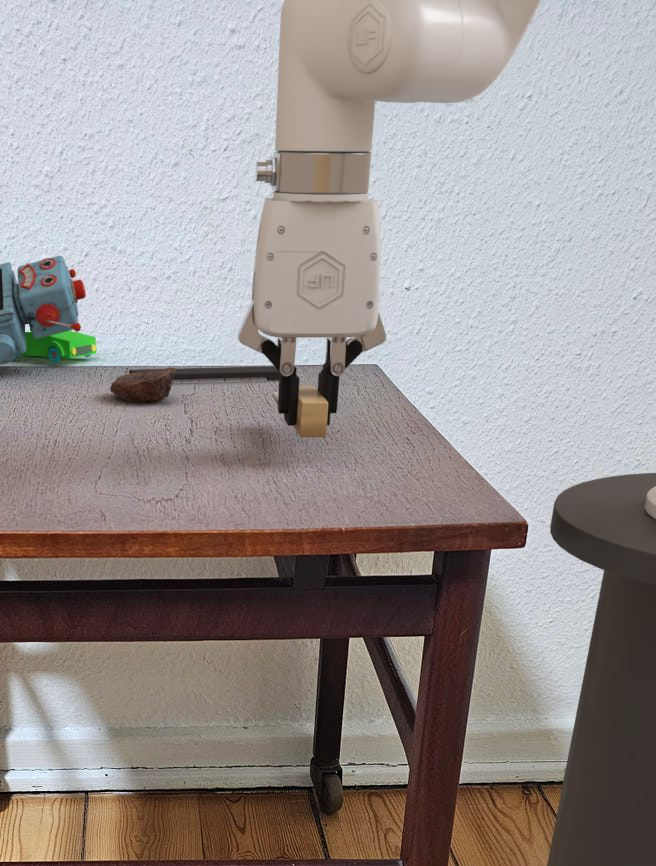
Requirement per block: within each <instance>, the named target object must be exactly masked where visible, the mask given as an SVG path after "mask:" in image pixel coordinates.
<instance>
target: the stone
mask: <svg viewBox="0 0 656 866" xmlns="http://www.w3.org/2000/svg"><path fill="white" fill-rule="evenodd" d="M157 369H158V370H153V371H146V372H136V373H130V374H129V373H126V374H125V375H121V376H120V377H117V378H116V379H115V380H114V381H113V382H111V385H110V390H109V391H110V392H111V393H112V394H113V395H114V396H115V397H117V398H120V399H123V400H125V401H127V402H128V401H129V402H151V401H152V402H153V401H163V400H165V399H166V398H168V397H169V395H170V392H171V390H172V385H173V384H172V381H173V378H174V376H175V373H176V369H177V368H175V367H167V368H157ZM161 369H162V370H161Z"/></svg>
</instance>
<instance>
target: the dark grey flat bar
mask: <svg viewBox="0 0 656 866" xmlns="http://www.w3.org/2000/svg"><path fill="white" fill-rule="evenodd" d="M158 369H159V368H145V369H141V368H140V369H129V370H128V374H130V373H136V372H146V371H153V370H158ZM160 369H161V370H162V369H163V368H160ZM175 369H176V373H175V376H174V378H173V381H172V384H171V385H173V384H198V383H199V384H202V383H204V384H206V383H207V384H208V383H236V382H237V383H238V382H240V383H241V382H261V381H262V382H267V381H268V382H269V381H274V382H275V381H279V371H278V370H277V369H276V367H275V366H274V365H271V366H270V365H269V366H229V367H228V366H227V367H223V366H221V367H185V368H183V367H182V368H175Z"/></svg>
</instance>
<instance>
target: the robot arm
mask: <svg viewBox="0 0 656 866" xmlns="http://www.w3.org/2000/svg"><path fill="white" fill-rule="evenodd" d="M541 1H542V0H284V1H283V3H282V7H281V13H280V23H279V44H278V46H279V49H278V67H277V68H278V70H277V71H278V72H277V93H276V94H277V95H276V113H275V119H276V120H275V142H274V151H276V152H273V154H272V157H270V158H269V159H265V161H256V162H255V170H254V171H255V175H254V177H255V182H264V184H269V186H271V191H272V197H267V198H265V199H264V202H263V206H262V210H261V216H260V221H259V226H258V232H257V238H256V239H257V240H256V247H255V256H254V266H253V277H252V287H251V303H250V304H249V307H248V310H247V312H246V314H245V316H244V318H243V321H242V323H241V324H240V327H239V330H238V332H237V335H236V337H237V340H238V342H239V343H240V344H242V345H243V346H245V347H248V348H250V349H251V350H254V351H256V352H259V353H260V354H262V355H264V357H266V359H267V360H268V361H269V362H270V363H271V365H272V366H274V367H276V369H277V370H278V371H279V380H278V391H277V392H278V405H277V413H278V414H280V415H281V414H282V415H283V414H284V415H283V420H284V421H285V423H286V424H287V426H290V427H294V425H295V424H296V422H297V404H298V396H299V387H300V377H299V376H298V375H297V367H296V366H295V361H296V350H297V349H296V348H297V338H307V339H309V338H326V340H325V360H324V361H325V362H324V363H323V364H322V369H321V370H320V372H318V378H317V379H318V380H317V390H318V391H319V392H320V393H321V395H322V396H323V397H324V398H325V399H326V401H327V402H328V415H327V426H330V425H331V424H330V423H331V414H337V411H338V403H339V401H338V400H339V387H340V377H341V376H342V375H343V374H344V373H345V370H346V369H347V368H348V367H349V366H350V365H351V364H352V363H353V362H354V361H355V360H356V359H357V358H358V357H359V356H360V355H361V354H362V353H364V352H367V351H369V350H372V349H374V348H377V347H378V346H380V345H382V344H384V343H385V342H386V340H387V334H386V330H385V327H384V325H383V321H382V318H381V315H380V312H379V311H380V295H381V294H380V293H381V258H382V257H381V256H382V255H381V254H382V253H381V250H382V248H381V246H382V245H381V244H382V243H381V218H380V217H381V216H380V208H379V207H380V206H379V200H378V199H373V198H369V189H370V188H369V187H370V174H371V164H372V163H371V162H372V149H373V148H372V147H373V146H372V145H373V137H374V123H375V109H376V102H382V103H400V104H401V103H402V104H415V103H432V104H433V103H434V104H457V103H463V102H466V101H469V100H472V99H474V98H475V97H477V96H479V95H480V94H482V93H483V92H484V91H486V90H487V89H488V88H490V86H491V85H492V84H493V83H494V82H495V81H496V80H497V79H498V77H499V76H500V75H501V73H502V72H503V71H504V69H505V68H506V67H507V65H508V64H509V62H510V61H511V59H512V57H513V55H514V53H515V52H516V50H517V48H518V46H519V45H520V43H521V41H522V39H523V37H524V36H525V33H526V32H527V30H528V28H529V25H531V22H532V20H533V19H534V16H535V14H536V13H537V10H538V8H539V6H540V3H542V2H541ZM259 332H261V333H262V334H261V333H259ZM263 334H264V335H266V336H264V335H263ZM268 336H269V337H274V338H277V339H276V343H275V342H274V341H273V340H272V339H271V338H269V337H268ZM347 338H348V339H347ZM645 510H646V512H647V513H648V514H649V515H650V516H651V517H652V518H654V519H655V520H656V486H655V487H654V488H652V489H650V490H649V492H648V493H647V496H646V502H645Z"/></svg>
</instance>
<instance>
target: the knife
mask: <svg viewBox="0 0 656 866" xmlns="http://www.w3.org/2000/svg"><path fill="white" fill-rule="evenodd" d="M278 392H279V391H273V392H272V399H273V401H274V402H275V403H276V405H277V406H278ZM282 415H283V416H284V414H282ZM327 415H328V402H327V401H326V399H325V398H324V397H323V396H322V395H321V393H320V392H319V391H318V387H316V386H299V396H298V404H297V422H296V424H295V425H294V426H293V428H294V429H295V431H296V433H297V434H298V436H299V437H300V438H326V437H327V429H328V425H327Z"/></svg>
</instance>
